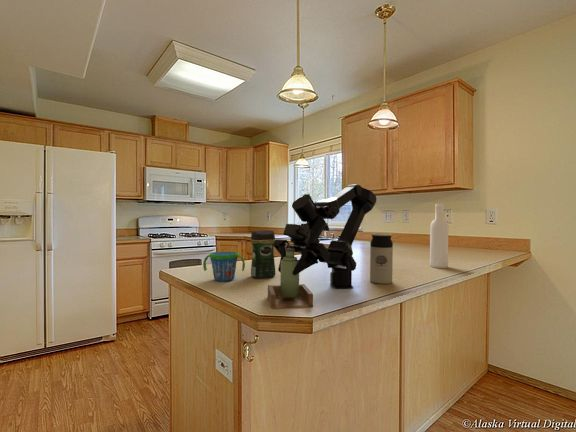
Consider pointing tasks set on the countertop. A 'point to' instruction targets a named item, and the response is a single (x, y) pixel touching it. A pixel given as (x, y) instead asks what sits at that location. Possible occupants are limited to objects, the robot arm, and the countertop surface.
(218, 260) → the snack cup
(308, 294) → the wooden serving tray
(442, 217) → the bottle
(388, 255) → the travel mug
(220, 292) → the countertop surface
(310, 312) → the countertop surface
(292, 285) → the bottle
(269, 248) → the coffee jar
